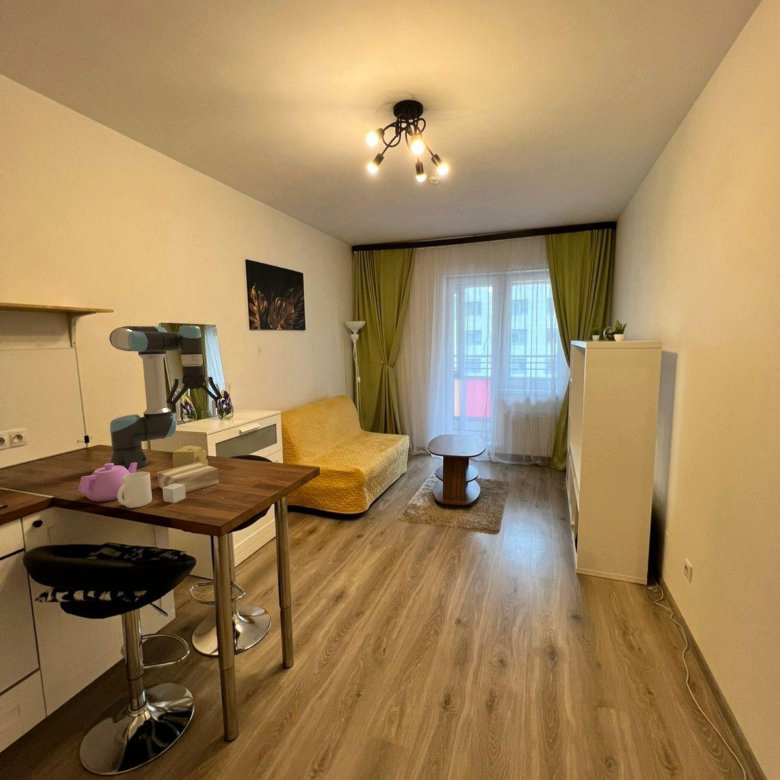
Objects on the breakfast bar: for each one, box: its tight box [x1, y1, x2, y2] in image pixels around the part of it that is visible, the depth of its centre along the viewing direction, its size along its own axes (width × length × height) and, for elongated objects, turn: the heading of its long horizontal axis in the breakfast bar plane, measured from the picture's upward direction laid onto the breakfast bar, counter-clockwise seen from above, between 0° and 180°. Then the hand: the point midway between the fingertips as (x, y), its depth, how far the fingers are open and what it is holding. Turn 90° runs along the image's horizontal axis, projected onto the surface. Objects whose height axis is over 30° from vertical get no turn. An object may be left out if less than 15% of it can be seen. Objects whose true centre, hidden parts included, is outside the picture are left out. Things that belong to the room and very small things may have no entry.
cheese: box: [172, 445, 209, 468], centre depth 182 cm, size 10×11×10 cm
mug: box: [117, 471, 153, 509], centre depth 142 cm, size 12×8×10 cm
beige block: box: [162, 483, 187, 504], centre depth 147 cm, size 5×5×5 cm
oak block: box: [156, 462, 220, 494], centre depth 163 cm, size 16×16×6 cm
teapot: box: [77, 462, 138, 502], centre depth 153 cm, size 22×16×12 cm
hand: (196, 418), depth 164 cm, fingers open, 13 cm apart
